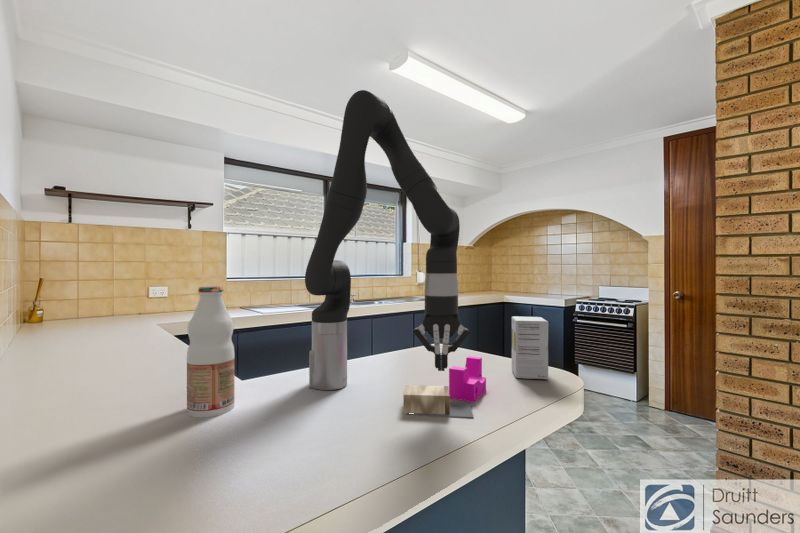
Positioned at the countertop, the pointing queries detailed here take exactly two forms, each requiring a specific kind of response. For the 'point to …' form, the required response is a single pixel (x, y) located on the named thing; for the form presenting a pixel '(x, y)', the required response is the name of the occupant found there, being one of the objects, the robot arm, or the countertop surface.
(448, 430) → the countertop surface
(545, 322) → the supplement box
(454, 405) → the mat
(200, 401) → the fruit juice
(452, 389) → the toy block
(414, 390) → the ash block
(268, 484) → the countertop surface
